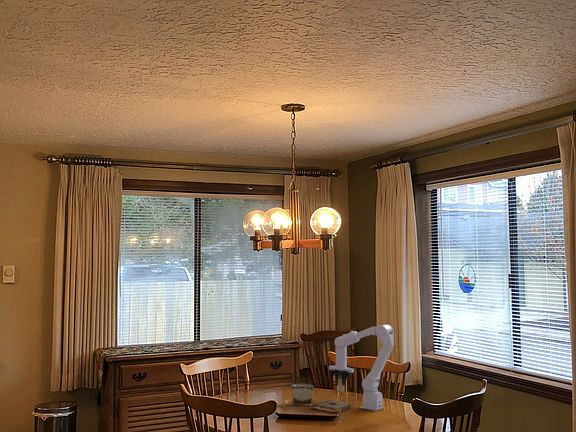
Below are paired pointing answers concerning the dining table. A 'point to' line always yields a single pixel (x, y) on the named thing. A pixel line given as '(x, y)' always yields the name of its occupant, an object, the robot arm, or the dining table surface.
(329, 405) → the holder block
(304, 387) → the food container
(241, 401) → the dining table surface
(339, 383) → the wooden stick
